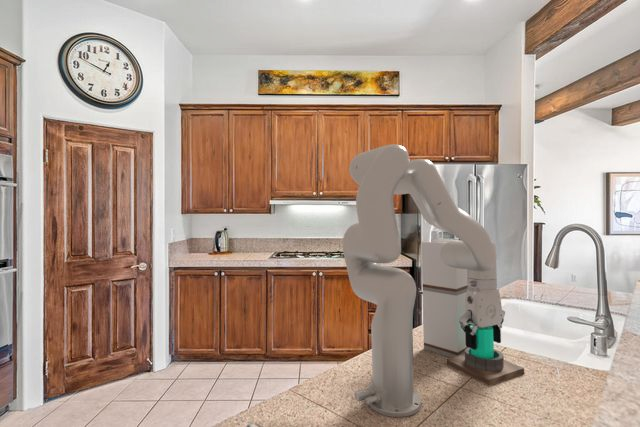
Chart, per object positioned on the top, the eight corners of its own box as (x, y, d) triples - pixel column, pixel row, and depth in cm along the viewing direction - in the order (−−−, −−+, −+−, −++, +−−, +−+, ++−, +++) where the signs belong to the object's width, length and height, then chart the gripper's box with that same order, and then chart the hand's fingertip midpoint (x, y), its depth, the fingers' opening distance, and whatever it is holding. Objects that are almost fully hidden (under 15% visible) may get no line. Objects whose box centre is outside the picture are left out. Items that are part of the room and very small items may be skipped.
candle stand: (488, 385, 86) (488, 368, 86) (446, 364, 98) (446, 348, 98) (524, 373, 92) (523, 357, 92) (480, 354, 104) (479, 340, 104)
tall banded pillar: (473, 349, 109) (470, 240, 109) (458, 359, 102) (455, 243, 102) (440, 340, 117) (437, 239, 117) (423, 348, 110) (421, 241, 110)
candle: (497, 369, 91) (496, 325, 91) (473, 367, 92) (472, 324, 92) (490, 360, 97) (489, 318, 97) (468, 358, 98) (467, 317, 98)
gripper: (471, 290, 88) (472, 355, 88) (514, 283, 95) (516, 343, 95) (448, 284, 95) (450, 345, 95) (491, 278, 102) (492, 335, 102)
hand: (483, 344), depth 95 cm, fingers open, 9 cm apart
